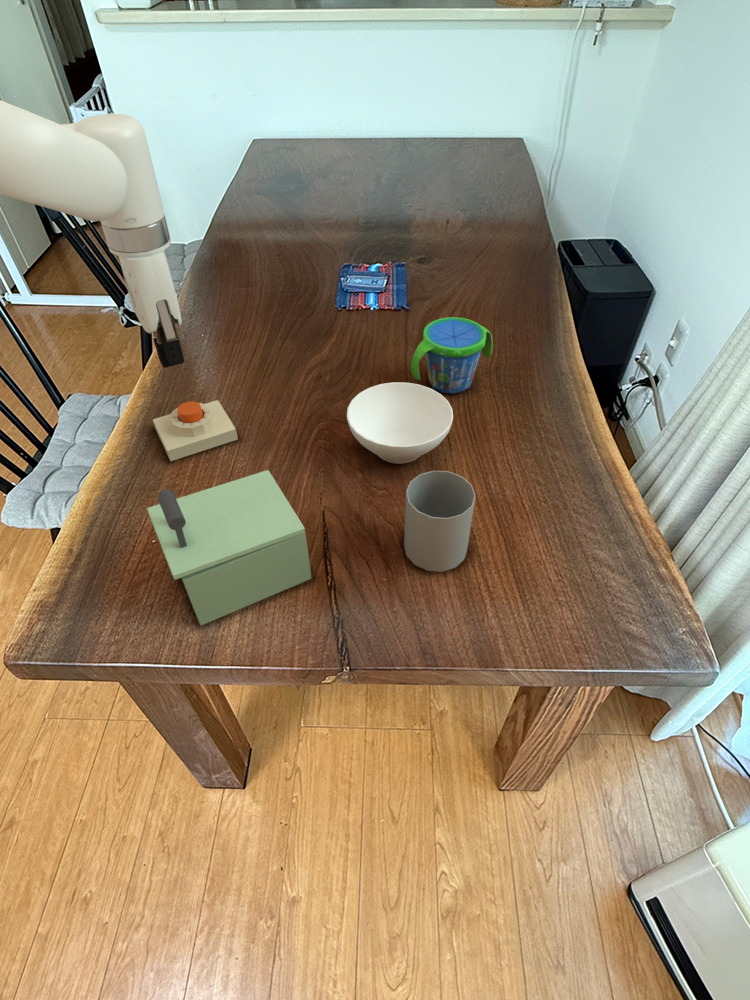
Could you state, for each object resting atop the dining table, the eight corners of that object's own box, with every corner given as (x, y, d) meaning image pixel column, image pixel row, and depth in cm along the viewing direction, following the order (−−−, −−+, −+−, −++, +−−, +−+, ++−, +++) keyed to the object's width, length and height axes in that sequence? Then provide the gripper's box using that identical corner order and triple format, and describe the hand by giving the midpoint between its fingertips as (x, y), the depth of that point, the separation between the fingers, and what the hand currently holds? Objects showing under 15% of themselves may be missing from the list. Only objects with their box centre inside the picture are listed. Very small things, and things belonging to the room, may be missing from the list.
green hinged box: (200, 626, 71) (183, 581, 65) (174, 560, 79) (156, 514, 72) (311, 578, 76) (305, 532, 70) (277, 520, 83) (269, 474, 77)
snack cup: (423, 410, 101) (426, 357, 94) (398, 377, 108) (399, 326, 101) (503, 389, 105) (512, 337, 98) (474, 359, 112) (480, 309, 105)
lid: (174, 580, 64) (162, 546, 60) (148, 512, 72) (136, 477, 68) (305, 532, 70) (302, 498, 66) (268, 474, 77) (264, 440, 73)
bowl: (330, 465, 91) (327, 429, 86) (373, 408, 102) (373, 372, 97) (428, 495, 87) (431, 458, 82) (463, 431, 97) (467, 396, 92)
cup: (466, 526, 82) (475, 473, 75) (467, 573, 77) (476, 520, 70) (405, 522, 83) (408, 468, 76) (402, 568, 77) (403, 515, 70)
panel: (170, 461, 92) (163, 441, 90) (155, 429, 98) (149, 410, 95) (238, 439, 96) (233, 419, 93) (220, 410, 102) (215, 390, 99)
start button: (183, 426, 93) (180, 417, 92) (177, 414, 95) (174, 405, 94) (206, 419, 94) (203, 410, 93) (199, 407, 96) (196, 398, 95)
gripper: (94, 219, 77) (134, 346, 90) (119, 261, 68) (159, 396, 81) (152, 209, 80) (183, 334, 93) (183, 248, 71) (213, 381, 83)
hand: (172, 362), depth 87 cm, fingers closed
